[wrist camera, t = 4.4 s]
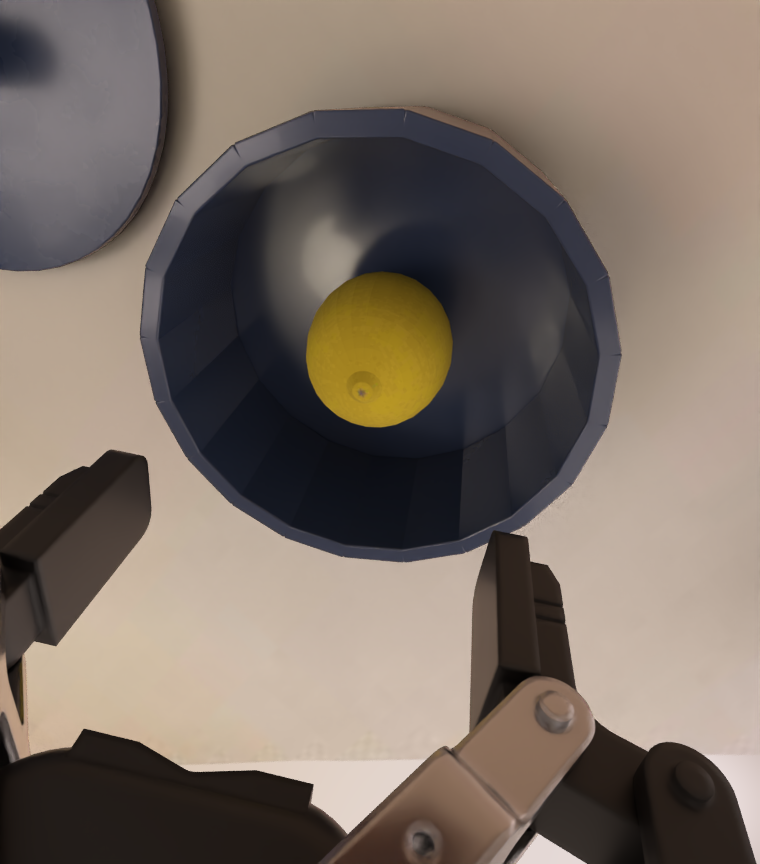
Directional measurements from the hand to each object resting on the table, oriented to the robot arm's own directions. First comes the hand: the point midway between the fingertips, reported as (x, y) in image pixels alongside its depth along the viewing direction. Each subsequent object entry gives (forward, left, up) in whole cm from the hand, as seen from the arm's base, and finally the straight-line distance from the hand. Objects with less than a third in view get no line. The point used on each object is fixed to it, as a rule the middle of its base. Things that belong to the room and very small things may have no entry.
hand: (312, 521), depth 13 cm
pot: (0, 0, -15) cm, 15 cm away
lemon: (0, 0, -15) cm, 15 cm away
